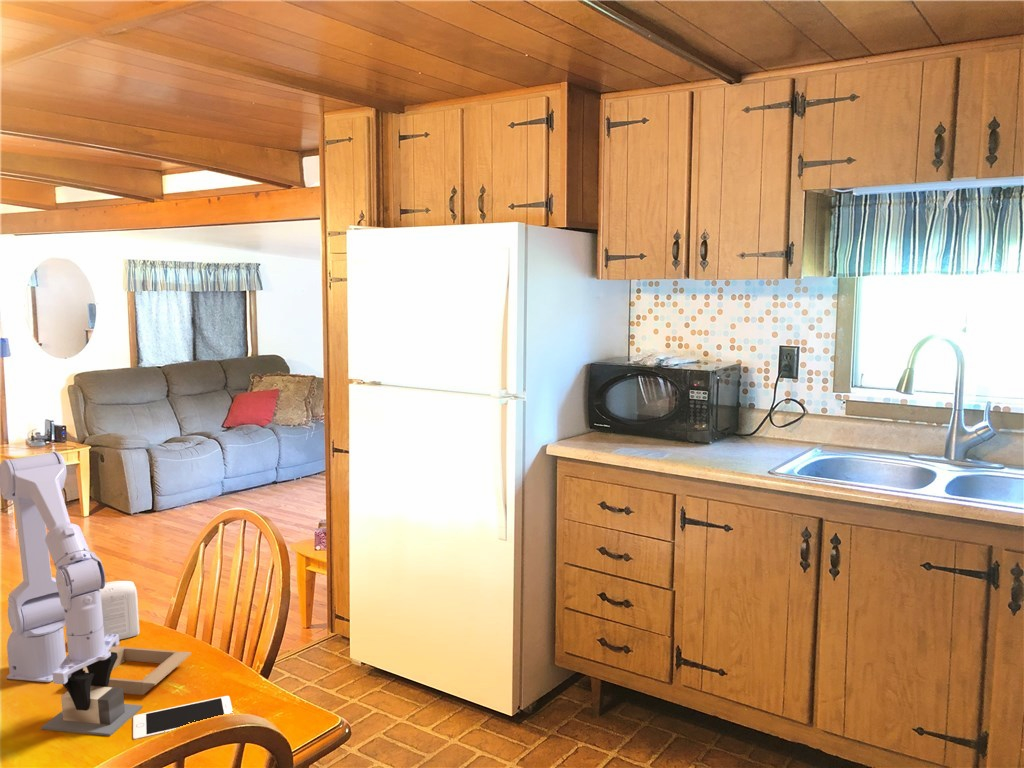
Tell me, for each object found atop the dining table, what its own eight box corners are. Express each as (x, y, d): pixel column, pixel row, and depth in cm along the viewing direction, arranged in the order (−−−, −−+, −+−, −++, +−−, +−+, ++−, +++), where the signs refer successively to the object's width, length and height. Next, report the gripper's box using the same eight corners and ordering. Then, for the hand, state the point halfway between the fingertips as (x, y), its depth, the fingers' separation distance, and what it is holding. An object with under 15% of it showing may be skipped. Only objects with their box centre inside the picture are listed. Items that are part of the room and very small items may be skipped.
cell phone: (133, 718, 144) (132, 715, 144) (229, 698, 150) (229, 695, 150) (133, 742, 137) (132, 738, 137) (234, 719, 143) (233, 716, 143)
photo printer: (138, 628, 178) (134, 574, 176) (141, 636, 175) (137, 580, 173) (85, 640, 173) (80, 585, 171) (88, 648, 169) (82, 591, 167)
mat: (41, 729, 140) (41, 727, 140) (77, 701, 149) (76, 699, 149) (110, 736, 138) (109, 733, 138) (142, 707, 147) (142, 705, 147)
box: (63, 720, 142) (61, 696, 141) (78, 707, 146) (76, 684, 145) (110, 724, 141) (108, 700, 140) (124, 712, 144) (122, 688, 144)
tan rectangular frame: (71, 688, 153) (70, 676, 153) (113, 657, 165) (112, 646, 165) (155, 696, 150) (154, 683, 150) (191, 664, 162) (191, 652, 162)
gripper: (77, 649, 133) (84, 727, 135) (132, 612, 147) (137, 682, 149) (38, 646, 134) (46, 723, 136) (96, 609, 148) (102, 679, 150)
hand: (91, 702), depth 143 cm, fingers closed on box, 4 cm apart
